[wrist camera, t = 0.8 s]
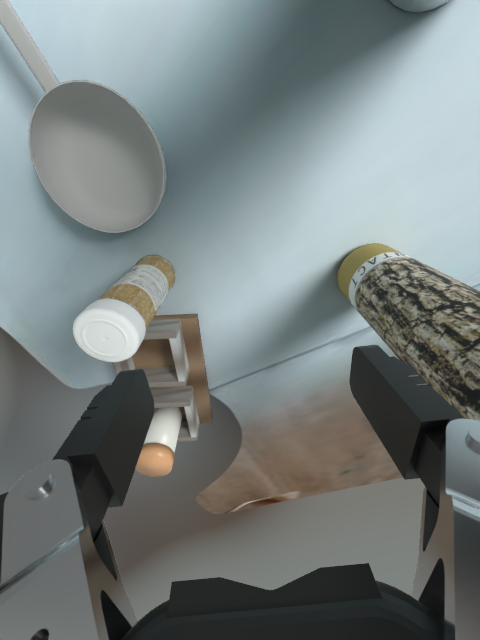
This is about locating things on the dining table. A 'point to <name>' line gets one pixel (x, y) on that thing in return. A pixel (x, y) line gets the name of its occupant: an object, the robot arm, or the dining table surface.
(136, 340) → the sprinkles bottle
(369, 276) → the paper tube
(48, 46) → the dining table surface
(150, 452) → the white lotion bottle
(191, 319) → the board
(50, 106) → the small pan
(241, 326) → the dining table surface
